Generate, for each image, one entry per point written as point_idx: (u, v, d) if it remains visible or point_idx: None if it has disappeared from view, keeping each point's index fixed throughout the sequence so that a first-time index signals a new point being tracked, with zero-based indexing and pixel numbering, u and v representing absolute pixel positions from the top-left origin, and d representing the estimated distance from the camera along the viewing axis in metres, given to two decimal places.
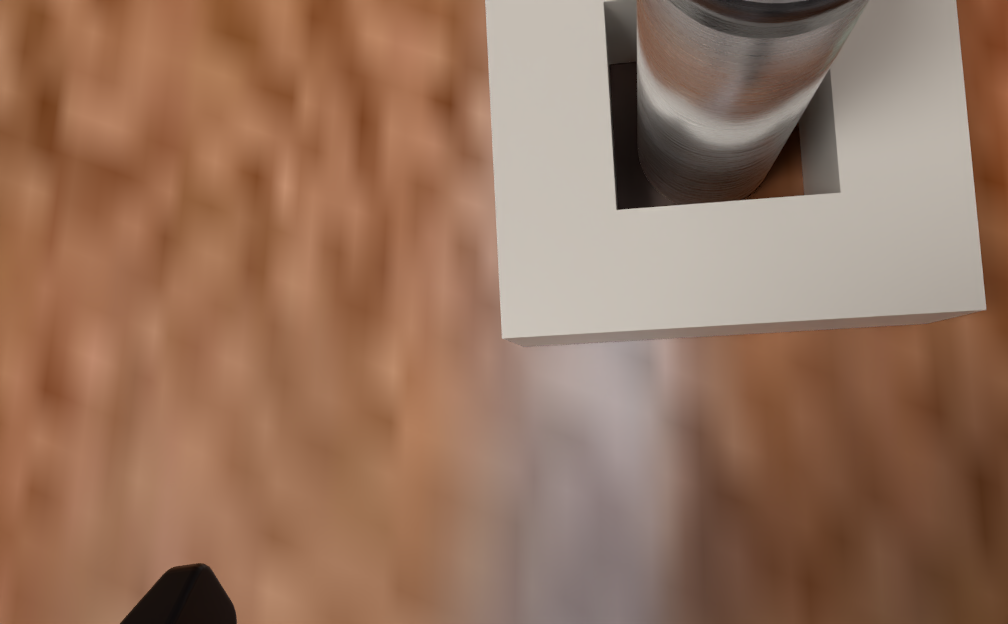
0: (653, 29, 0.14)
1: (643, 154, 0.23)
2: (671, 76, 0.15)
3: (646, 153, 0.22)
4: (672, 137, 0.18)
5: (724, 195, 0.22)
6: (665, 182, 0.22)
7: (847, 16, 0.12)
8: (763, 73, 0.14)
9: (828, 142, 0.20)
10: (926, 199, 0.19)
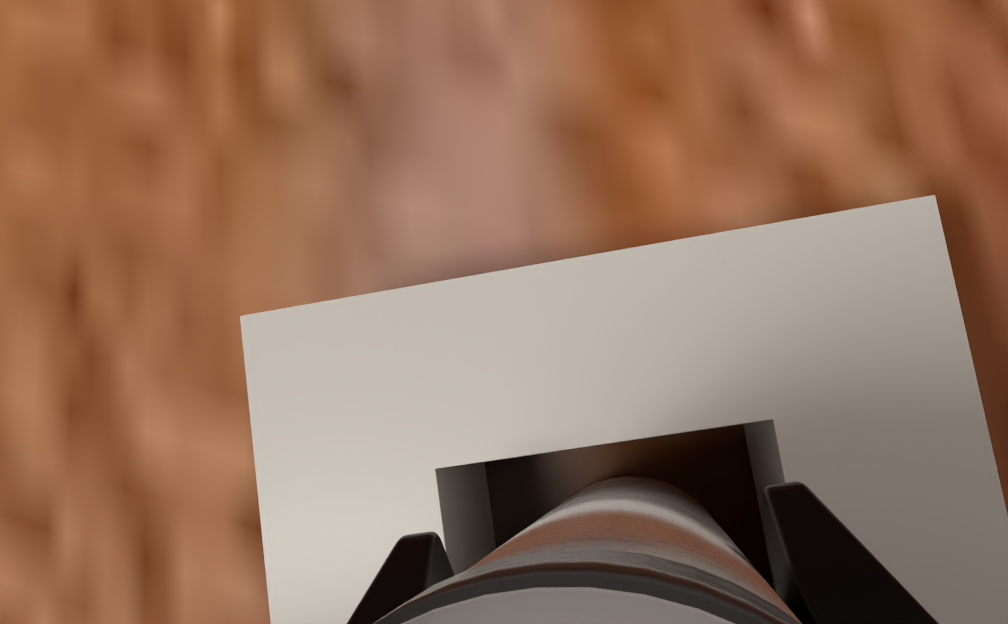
0: None
1: None
2: None
3: None
4: None
5: None
6: None
7: None
8: None
9: None
10: None
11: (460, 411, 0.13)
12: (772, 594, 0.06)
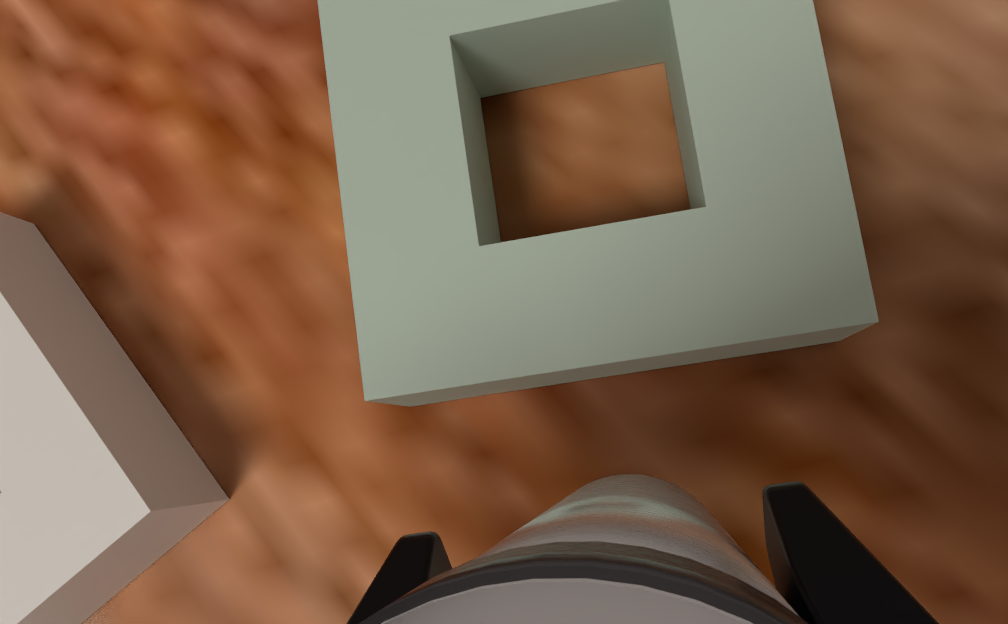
0: None
1: None
2: None
3: None
4: None
5: None
6: None
7: None
8: None
9: None
10: (63, 455, 0.21)
11: None
12: (770, 588, 0.06)
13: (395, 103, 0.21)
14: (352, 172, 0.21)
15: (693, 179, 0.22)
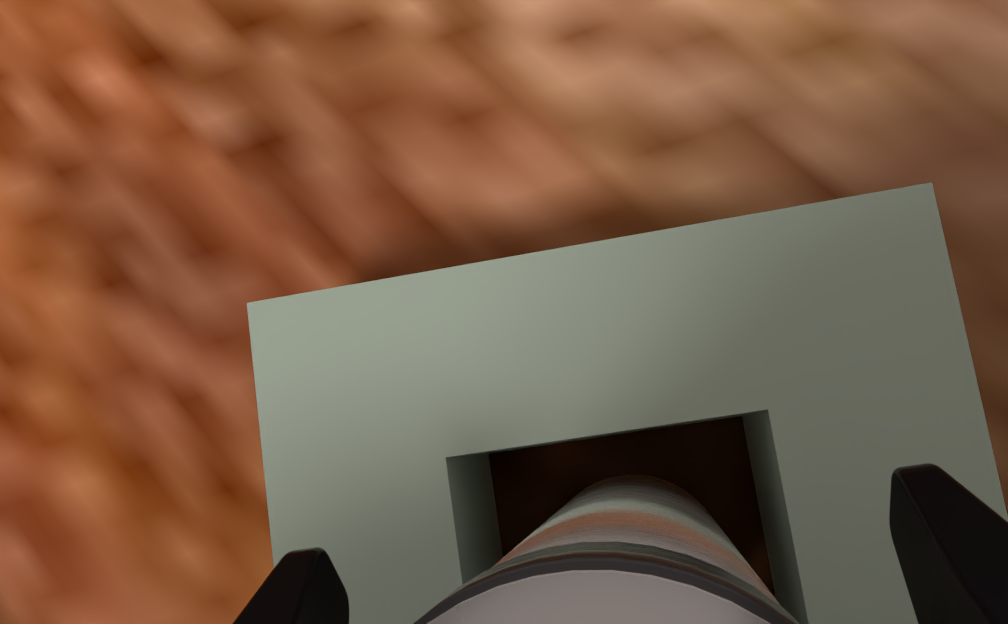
0: None
1: None
2: None
3: None
4: None
5: None
6: None
7: None
8: None
9: None
10: None
11: None
12: (753, 578, 0.08)
13: (366, 557, 0.15)
14: None
15: None
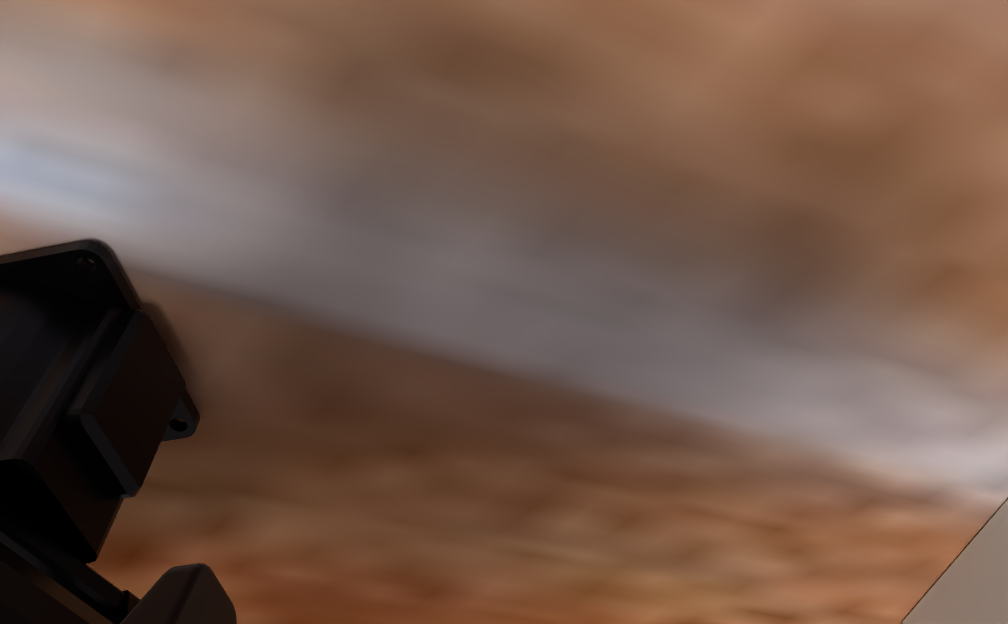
0: None
1: None
2: None
3: None
4: None
5: None
6: None
7: None
8: None
9: None
10: None
11: None
12: None
13: None
14: None
15: None
